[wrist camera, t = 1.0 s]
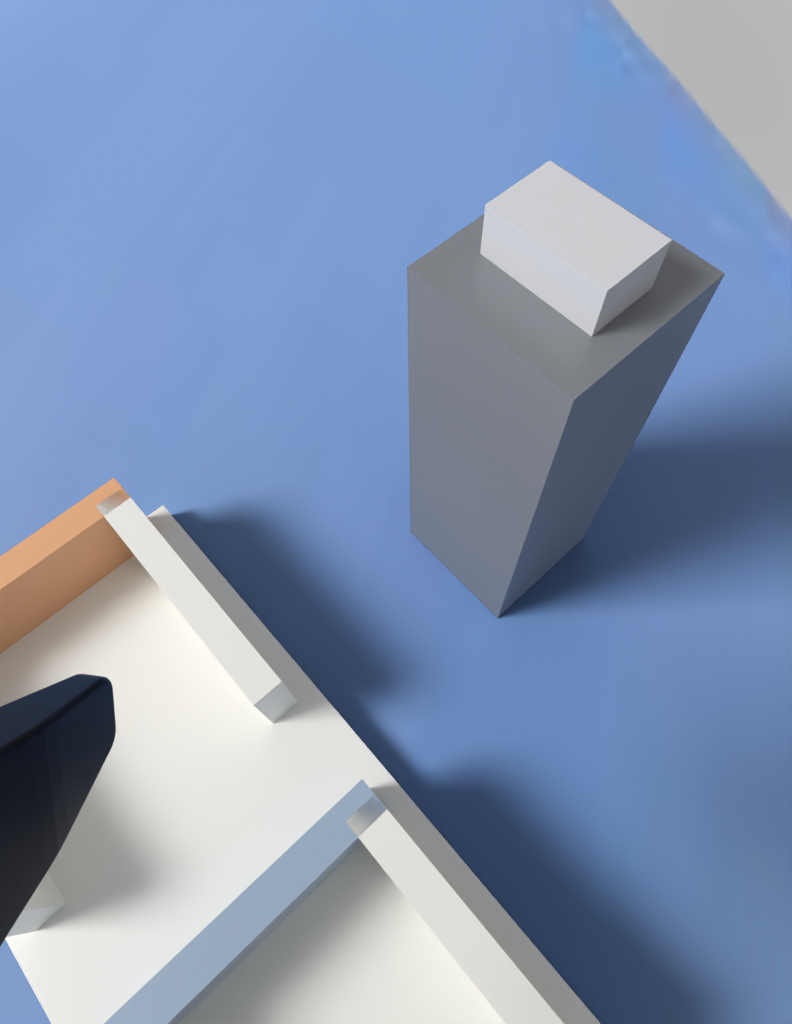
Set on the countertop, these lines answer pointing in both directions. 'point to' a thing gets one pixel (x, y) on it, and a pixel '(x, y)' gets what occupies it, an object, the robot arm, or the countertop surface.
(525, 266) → the grey pedestal with block
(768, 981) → the countertop surface
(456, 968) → the white tray with rails
